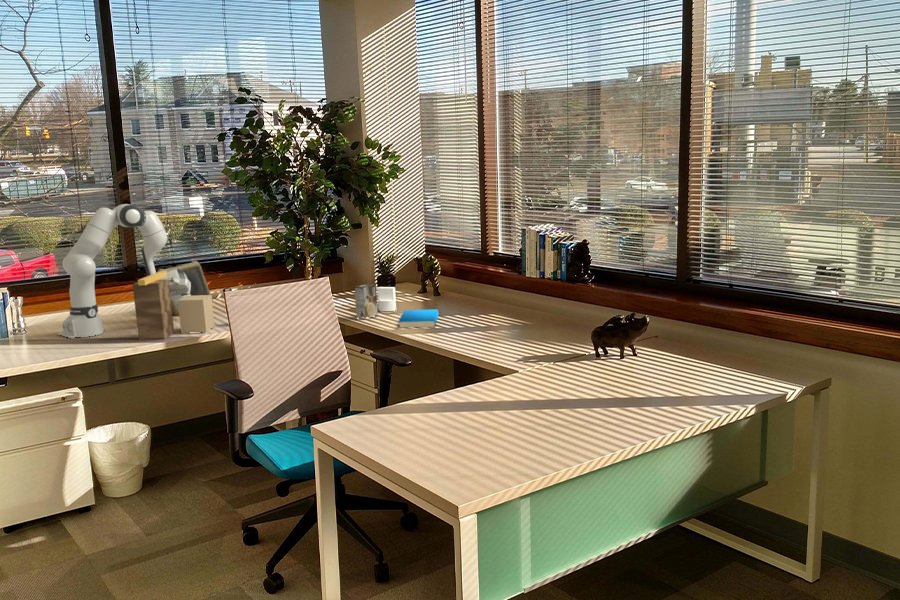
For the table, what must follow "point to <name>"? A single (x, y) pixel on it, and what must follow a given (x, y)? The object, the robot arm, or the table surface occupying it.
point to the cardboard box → (196, 313)
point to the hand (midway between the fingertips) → (162, 278)
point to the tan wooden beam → (152, 278)
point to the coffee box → (366, 300)
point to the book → (419, 318)
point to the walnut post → (153, 310)
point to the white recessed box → (386, 298)
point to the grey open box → (196, 280)
